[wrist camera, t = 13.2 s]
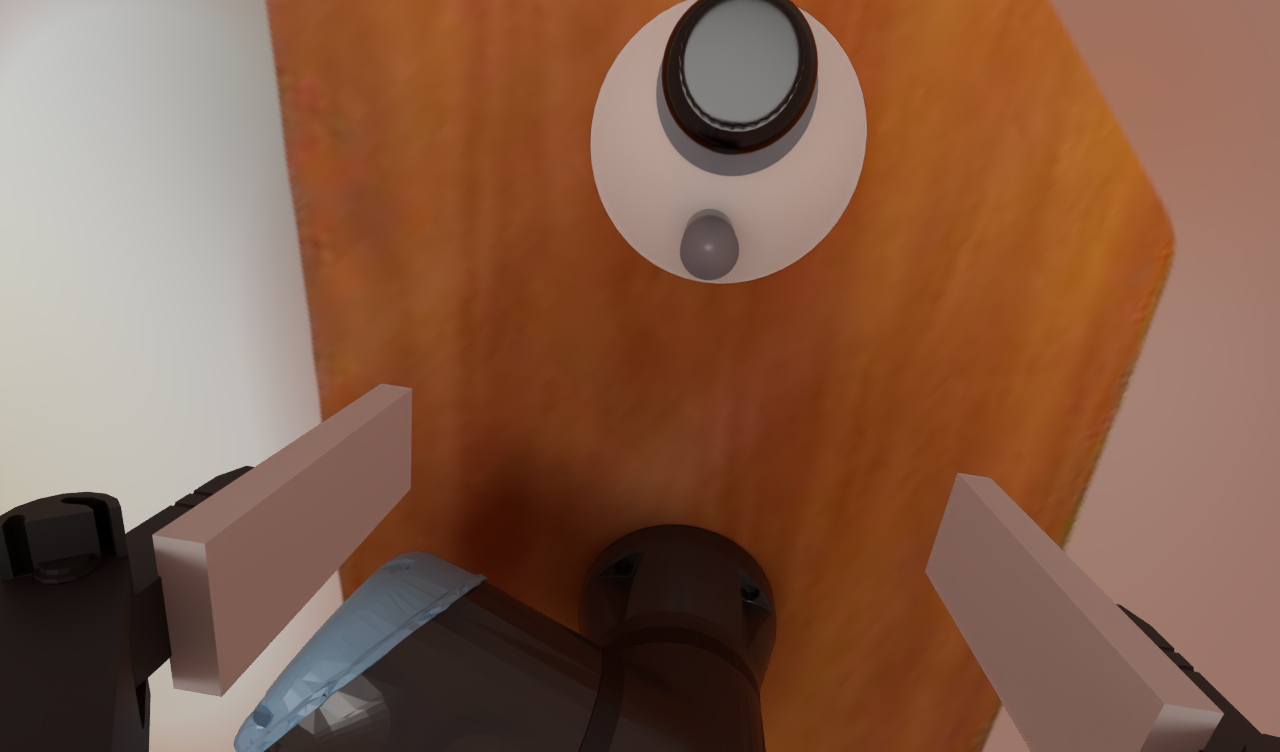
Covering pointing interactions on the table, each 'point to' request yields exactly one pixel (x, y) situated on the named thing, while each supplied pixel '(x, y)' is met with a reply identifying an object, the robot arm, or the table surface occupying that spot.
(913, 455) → the table surface
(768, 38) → the supplement bottle
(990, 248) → the table surface
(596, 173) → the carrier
